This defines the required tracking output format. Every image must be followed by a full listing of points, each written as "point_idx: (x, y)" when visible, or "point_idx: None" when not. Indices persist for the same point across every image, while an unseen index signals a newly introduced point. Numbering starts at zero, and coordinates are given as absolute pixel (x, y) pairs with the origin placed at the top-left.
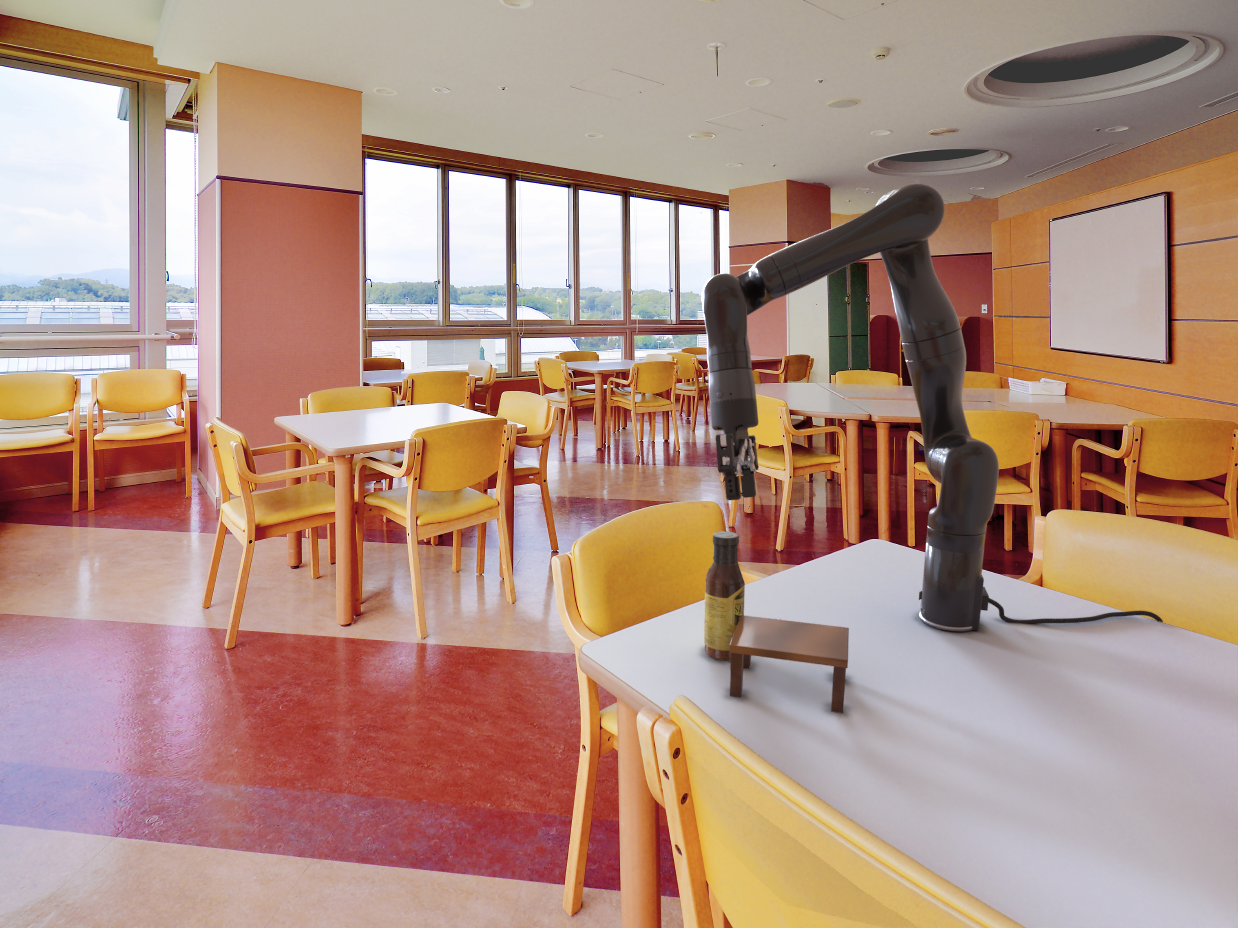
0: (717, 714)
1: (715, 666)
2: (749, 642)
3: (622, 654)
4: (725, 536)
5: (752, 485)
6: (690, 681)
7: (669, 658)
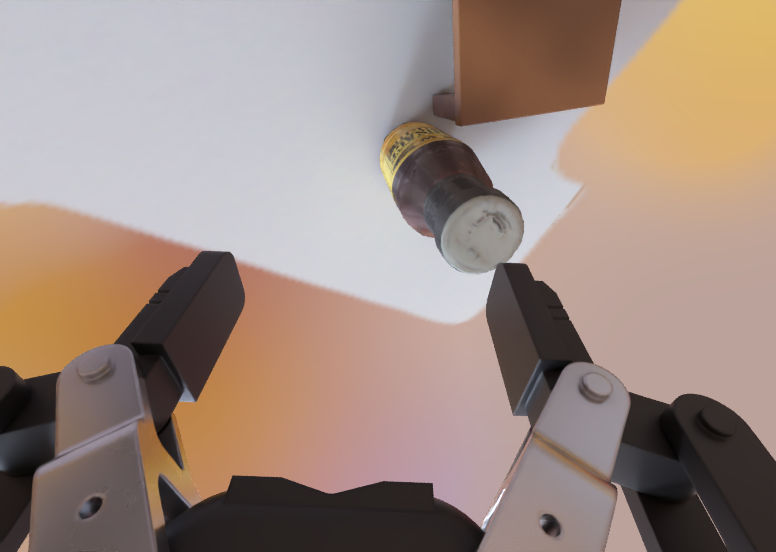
0: None
1: None
2: (590, 66)
3: (463, 283)
4: (507, 231)
5: (204, 296)
6: (513, 170)
7: None
